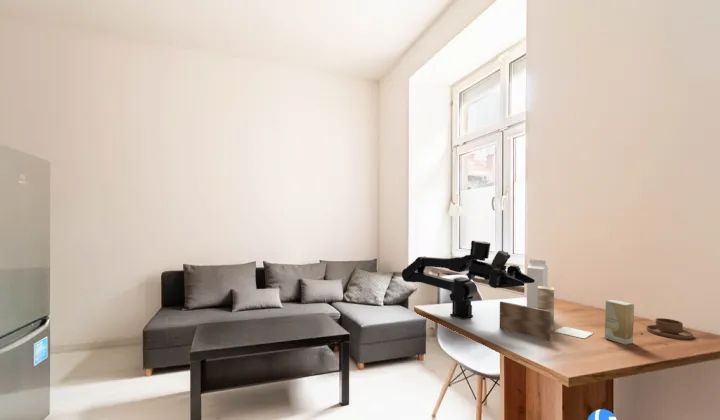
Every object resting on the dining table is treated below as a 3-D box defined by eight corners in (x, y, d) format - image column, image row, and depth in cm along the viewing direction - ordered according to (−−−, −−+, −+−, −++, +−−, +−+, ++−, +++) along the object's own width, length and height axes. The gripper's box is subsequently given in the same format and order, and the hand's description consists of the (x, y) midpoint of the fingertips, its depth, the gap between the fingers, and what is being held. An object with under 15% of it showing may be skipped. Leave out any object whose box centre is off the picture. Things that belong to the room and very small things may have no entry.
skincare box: (604, 338, 114) (604, 300, 114) (612, 336, 115) (612, 299, 116) (625, 345, 108) (625, 304, 108) (634, 343, 109) (634, 303, 110)
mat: (554, 331, 119) (554, 331, 119) (564, 327, 125) (564, 326, 125) (584, 339, 113) (584, 338, 113) (593, 333, 118) (593, 332, 119)
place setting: (688, 345, 110) (687, 326, 110) (611, 329, 125) (611, 312, 125) (697, 335, 121) (696, 317, 121) (625, 321, 136) (625, 306, 137)
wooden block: (537, 329, 122) (537, 288, 123) (537, 325, 127) (538, 286, 127) (553, 331, 120) (554, 289, 120) (553, 327, 124) (554, 287, 125)
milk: (543, 318, 136) (543, 261, 136) (526, 315, 140) (526, 259, 140) (547, 315, 140) (548, 259, 141) (531, 312, 144) (531, 258, 145)
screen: (499, 328, 122) (499, 302, 122) (501, 327, 123) (501, 301, 123) (548, 340, 110) (548, 311, 110) (550, 340, 111) (550, 311, 111)
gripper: (476, 250, 124) (522, 261, 113) (499, 248, 137) (542, 257, 126) (472, 281, 124) (517, 295, 113) (495, 276, 138) (537, 288, 127)
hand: (529, 282), depth 120 cm, fingers open, 9 cm apart
